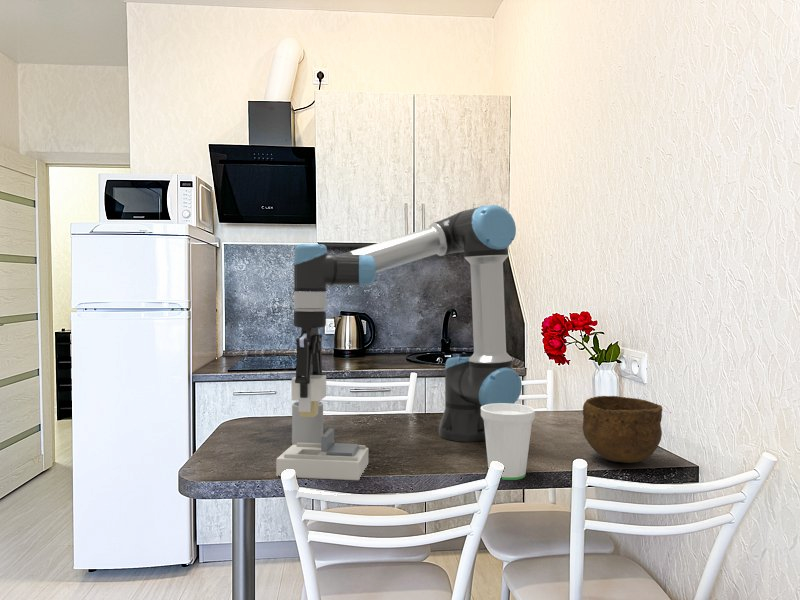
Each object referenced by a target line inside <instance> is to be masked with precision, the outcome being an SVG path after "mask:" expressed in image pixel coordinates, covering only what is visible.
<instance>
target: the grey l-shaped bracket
mask: <svg viewBox="0 0 800 600" xmlns="http://www.w3.org/2000/svg"><path fill="white" fill-rule="evenodd" d="M359 445H360V444H359V443H339V442H335V428H328V429H327V430H326V431H325V432H323V435H322V436H321V452H326V455H330V456H354V455H355V454H356V452H357V451H358V449H359Z"/></svg>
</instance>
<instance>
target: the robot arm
mask: <svg viewBox="0 0 800 600" xmlns="http://www.w3.org/2000/svg"><path fill="white" fill-rule="evenodd" d="M516 233H517V227H516V222H515V219H514V218H513V215H512V214H511V213H510V212H509V211H508V210H507V209H506V208H504V207H502V206H500V205H497V204H487V205H480V206H477V207H473V208H470V209H465V210H462V211H459V212H457V213H454V214H453V215H450V216H448V217H446V218H443V219H441V220H438V221H435V222H432V223H430V225H429V226H428V228H427V227H426V228H424V229H421V230H417V231H414V232H410V233H407V234H403V235H401V236H398V237H394V238H390V239H387V240H385V241H380V242H378V243H374V244H371V245H367V246H364V247H359V248H357V249H352V250H350V251H347V252H344V253H331V252H328V250H327V246H326V245H325V244H319V243H300V244H297V245H296V246H295V247H294V256H293V283H294V285H293V295H292V297H291V299H292V301H293V308H294V312H293V326H294V327H295V328H301V331H300V335H299V337H296V339H295V343H296V362H295V363H296V364H295V377H296V380H295V383H299V401H298V402H299V412H311V383H310V374H311V364H312V375H324V373H323V368H322V367H323V365H322V364H323V363H322V361H323V359H322V358H323V357H322V355H323V353H322V349H323V348H322V343H323V334H322V333H319V329H320V328H325V327H326V326H327V312H326V311H325V309H327V286H330V287H334V286H335V287H336V286H358V287H362V286H371V285H372V284H373V283H374V281H375V280H376V275H377V273H381V272H383V271H388V270H390V269H392V268H396V267H400V266H403V265H405V264H409V263H412V262H416V261H417V260H418V261H419V260H422V259H424V258H427V257H432V256H435V255H437V256H439V257H442V256H445V255H449V254H456V253H464V254H463V256H464V259H465V260H466V261H467V262H468V263H469V265H470V284H471V285H470V286H471V288H470V289H471V310H472V311H471V313H472V332H473V333H472V334H473V335H472V336H473V354H472V355H470V356H458V357H457V356H456V357H448V358H447V359H446V361H445V367H444V374H445V375H444V379H445V380H444V381H445V382H444V383H445V384H444V386H445V389H444V390H445V391H444V398H445V399H444V400H445V401H444V403H445V404H444V411H443V414H442V417H441V420H440V422H439V426H438V435H439V437H441V438H443V439H444V440H445V439H446V440H449V441H455V442H468V443H473V442H481V441H486V438H485V428H484V420H483V418H482V417H481V406H484V405H487V404H496V403H509V404H516V402H518V400H519V398H520V396H521V392H522V387H523V385H522V379H521V377H520V375H519V374H518V373H517V371H516V370H514V368H513V357H512V356H511V355H509V353H508V352H507V339H506V338H507V337H506V314H505V312H506V311H505V310H506V309H505V288H504V287H505V286H504V285H505V284H504V262H505V260H506V259H508V257H509V247H510V245H511V244H512V242H513V241H514V240H515V237H516ZM295 309H296V310H295ZM303 376H304V377H303ZM319 402H320V401H318V406H319Z"/></svg>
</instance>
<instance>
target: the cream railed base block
mask: <svg viewBox="0 0 800 600" xmlns="http://www.w3.org/2000/svg"><path fill="white" fill-rule="evenodd" d="M275 463H276V464H275V465H276V466H275V468H276V471H275V473H276V477H278V475H279V476H280V473H281V472H282V471H284V470H286V469H294V470H295V471H296V475H297V477H296V478H303V479H320V480H321V479H323V480H345V481H360V479H361V478H360V477H362V476H363V474H364V472H365V471H366V469H367V467H368V466H369V447H367V446H366V445H364V444H359V449H358V451H357V452H356V454H355V455H354V456H330V455H326V452H321V444H320V443H297V445H293V444H292V445H290V446H289V447H288V448H287V449H286V450H285V451H283V452H282V453H281V454H280V455H279V456H278V457H277V458H276V462H275ZM367 465H368V466H367ZM365 468H366V469H365ZM364 470H365V471H364ZM362 473H363V474H362ZM361 475H362V476H361Z"/></svg>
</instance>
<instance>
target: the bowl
mask: <svg viewBox="0 0 800 600" xmlns="http://www.w3.org/2000/svg"><path fill="white" fill-rule="evenodd" d="M663 411H664V409H663V406H662V405H660V404H658V403H654V402H651V401H650V400H649V401H648V400H645V399H641V398H636V397H624V396H618V395H597V396H593V397H590V398H587V399H586V401H584V403H583V406H582V415H583V421H582V432H583V435H584V438H585V439H586V441H587V443H588V445H590V447H591V449H593V450H594V452H595V453H596V454H597V455H598V456H600V457H601V458H604V460H605V459H606V460H607V461H611V462H618V463H623V464H634V463H639V462H642V461H645V460H646V459H648V458H649V457H651V456H652V455H653V454H654V452H656V450H657V448H658V447H659V446H660V445H659V444H660V442H661V440H662V435H663V432H662V426H661V425H662V424H661V422H662V418H663Z"/></svg>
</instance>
